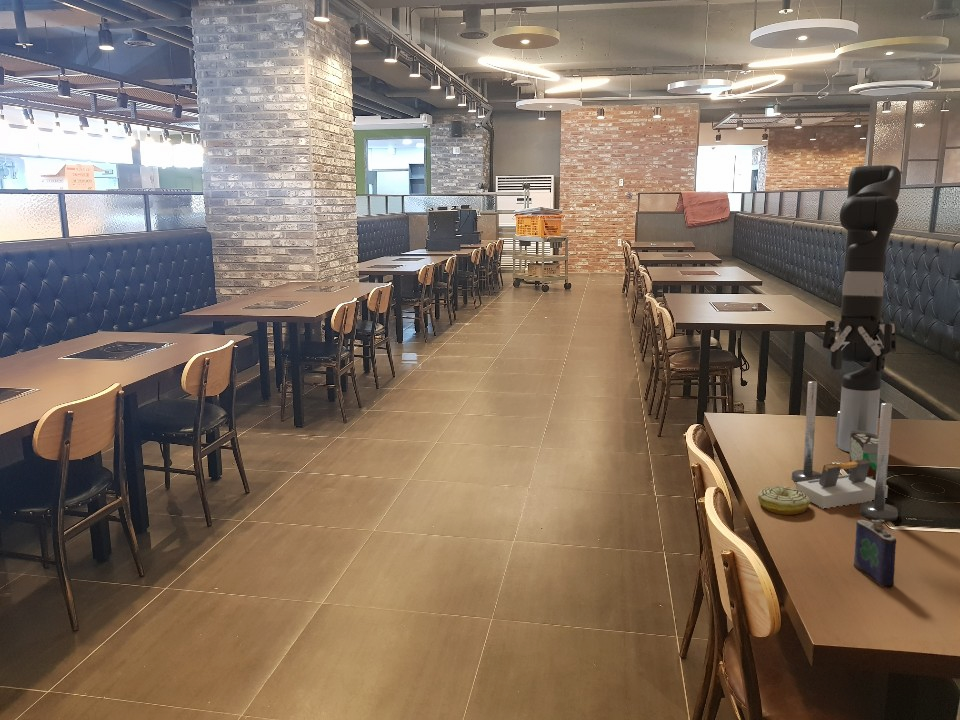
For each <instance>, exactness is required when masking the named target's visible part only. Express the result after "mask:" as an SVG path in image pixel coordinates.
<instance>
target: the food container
mask: <svg viewBox="0 0 960 720" xmlns="http://www.w3.org/2000/svg"><path fill="white" fill-rule="evenodd" d="M849 438H850V452H849V457H848V459H849V461H848V462H854V461H855V460H861V459H867V460H868V461H869V462H871V464H870V467H869V470H868V473H867V476H866V477H868V478H870V479H873V480H875V481H876V469H877V455H878V441H879V434H877V435H876V434H873V433H869V432H863V431H853V430H850V436H849ZM849 469H850V470H851V469H852V468H848V470H849ZM850 470H849V471H850Z"/></svg>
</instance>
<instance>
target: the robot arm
mask: <svg viewBox="0 0 960 720" xmlns="http://www.w3.org/2000/svg"><path fill="white" fill-rule="evenodd" d="M901 176H902V173H901V171H900V168H898V167H897V166H895V165H890V164H889V165H888V164H883V165H882V164H880V165H860V166H859V165H858V166H855V167H853V168H852V169H851V171H850V173H849V176H848V183H847V199H846V200H845V201H844V202H843V204H842V206H841V208H840V211H839V222H840V225H841V226H842V227H843V229H844V230H846V231H847V232H846V233H847V234H846V235H847V236H846V245H845V253H844V266H843V283H842V289H841V291H842V296H841V308H840V310H841V311H840V321H837V320H827V321H825V327H824V332H823V333H824V334H823V341H822V342H823V343H822V347H823V348H824V349H827V350H829V351H830V352H831V358H830V359H831V360H830V366H831V367H832V369H833V370H836V371H839V370H841V369H842V366H843V365H842V363H843V362H853V363H854V362H855V363H868V364H867V365H866V366H865V367H863V368H861V369H858V370H855V371H852V372H849V373H846V374H843V376H841V377H842V378H841V390H840V391H841V392H840V408H839V410H838V411H837V412H836V426H835V427H836V428H835V429H836V430H835V446H837V448H839V450H842V451H844V452H846V453H847V452H848V453H850V438H849V436H850V430H853V431H863V432H869V433H873V434H876V435H878V425H879V415H880V414H879V411H880V400H881V399H880V398H881V395H880V394H881V384H882V383H881V382H882V372H884V370H885V365H886V356H887V355H890V354H893V353H894V354H895V353H896V351H897V328H898V327H897V324H896V323H885V324H884V323H883V324H882V323H881V317H882V313H883V312H882V311H883V297H884V285H885V284H884V283H885V282H884V281H885V274H886V264H887V263H886V262H887V257H886V250H887V245H888V242H889V239H890V236H891V233H892V231H893V228H894V226H895V225H896V224H895V223H896V222H897V219H898V216H899V209H900V208H899V205H898V202H897V200H898V197H899V195H900V192H901V182H902V177H901ZM873 232H876V234H875V235H874V234H873ZM837 332H838V337H837V338H836V336H837V335H836V334H837Z"/></svg>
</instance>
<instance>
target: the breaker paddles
mask: <svg viewBox="0 0 960 720" xmlns="http://www.w3.org/2000/svg"><path fill="white" fill-rule="evenodd" d="M870 464H871V462H869V461H868V460H867V459H861V460H855V461H854V462H849V461H848V462H842V463H828V464H824V465H823V468H822V471H821V478H820V481H819V484H820V485H821V486H822V487H823V488H825V487H831V486H836V483H837V479H838V476H840V472H841V470H849V468H852V469H851V472H850V471H849V474H850V475H849V480H850V481H852V482H853V483H856V482H863V481H865V480H866V476H867V473H868V470H869V467H870Z"/></svg>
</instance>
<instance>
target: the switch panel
mask: <svg viewBox="0 0 960 720" xmlns="http://www.w3.org/2000/svg"><path fill="white" fill-rule="evenodd" d="M849 475H850V473H849V474H843V475H839V476H838V479H837V483H836V486H831V487H825V488H823V487H822V486H821V485H820V484H819V481H820V479H815V480H809V481H802V482H796V483H795V489H797V490H799V491H802V492H803V493H805V494H806V495H807V496H808V497H809V499H810V503H811V502H812V503H814V504H816V505H818V506H820V507H821V508H820V507H819V508H820V509H822V508H823V509H822V510H825V509H824V508H827V509H831V508H830V507H833V508H837V507H836V506H839V507H844V506H843V505H845V506H850V505H849V504H852V505H856V504H857V503H858V504H863V503H866V502H867V501H870V502H873V501H872V500H874V496H875V482H876V481H875V480H873V479H870V478H868V477H866V480H865V481H863V482H856V483H853V482H852V481H850V480H849ZM888 489H889V485H887V484H886V494H885V498H887V499H888V492H889V491H888ZM812 503H811V504H812ZM814 504H813V505H814ZM816 505H815V506H816ZM818 506H817V507H818Z"/></svg>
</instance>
